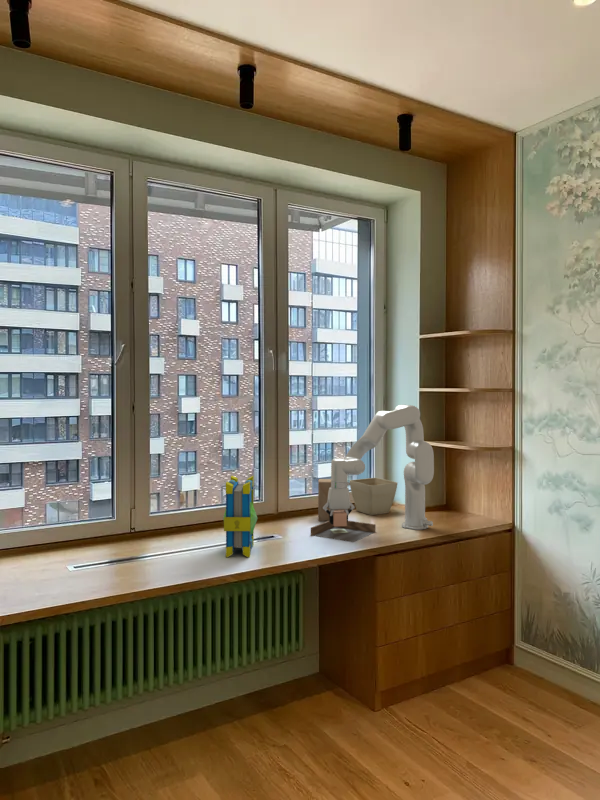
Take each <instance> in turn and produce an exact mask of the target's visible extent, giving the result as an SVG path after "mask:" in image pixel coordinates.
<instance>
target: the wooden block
mask: <svg viewBox="0 0 600 800" xmlns="http://www.w3.org/2000/svg"><path fill="white" fill-rule="evenodd" d="M317 488H318V490H317V492H318V494H317V496H318V497H317V498H318V502H317V503H318V504H317V505H318V509H317V512H318V514H317V515H318V517H317V518H318V519H317V520H318V521H319V522H327V521H329V514H328V513H327V512H326V511H325V510H324V509H323V506H324V505H325V504H326V503H327V501H328V492H329V488H331V478H319V479H318V487H317ZM327 509H328V510H329V511H330V508H328V507H327ZM334 511H339V510H334Z"/></svg>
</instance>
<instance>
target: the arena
mask: <svg viewBox="0 0 600 800" xmlns="http://www.w3.org/2000/svg"><path fill="white" fill-rule="evenodd" d="M376 531H377V530H376V523H375V524H374V523H368V522H361V521H354V520H348V522H347V526H337V527H334V526H333V525H332V524H331V523H330V522H329V521H323V522H322V523H319V524H316V525H314V526H311V527H310V536H312V537H318V538H324V539H329V540H334V541H336V540H337V541H342V542H349V543H356V542H358V541H359V540H362V539H364V538H366V537H368V536H371V535H372V534H375V533H376Z"/></svg>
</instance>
